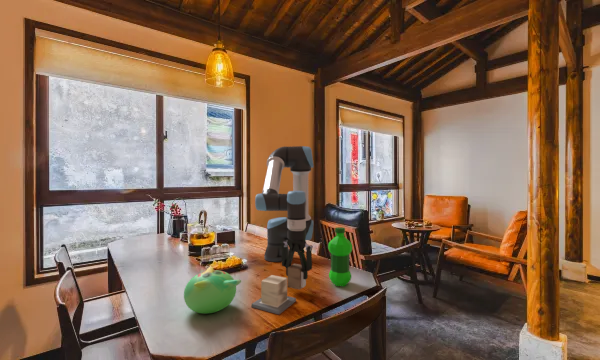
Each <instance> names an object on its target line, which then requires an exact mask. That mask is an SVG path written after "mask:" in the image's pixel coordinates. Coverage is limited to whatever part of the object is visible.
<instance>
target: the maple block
mask: <svg viewBox="0 0 600 360" xmlns="http://www.w3.org/2000/svg"><path fill="white" fill-rule="evenodd" d="M260 282H261V284H260V286H261V287H260V288H261V292H260V293H261V295H260V298H261V302H263V303H266V304H270V305H274V306H278V305H280V304H281V303H282V302H284V301H285V300H286V299H287V296H288V277H283V276H279V275H274V274H271V275H269V276H267V277H266V278H263V279H262V280H261V281H260Z"/></svg>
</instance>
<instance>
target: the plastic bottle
mask: <svg viewBox="0 0 600 360" xmlns="http://www.w3.org/2000/svg"><path fill="white" fill-rule="evenodd" d="M334 232H335V234H336V236H334V237H333V238H332V239H331V240H330V241H329V242H328V245H327V249H328V251H329V252H330V258H331V259H330V270H329V273H328V277H329V281H331V283H332V284H333V285H334V284H335V285H336V287H339V286H343V287H346V285H347V284H349V283H350V281H351V279H352V273H351V271H350V254H351V253H352V251H353V245H352V242H351V241H350V240H349V239H348V238H347V237H345V233H346V228H345V227H337V226H336V227H335V231H334ZM335 285H334V286H335Z"/></svg>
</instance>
